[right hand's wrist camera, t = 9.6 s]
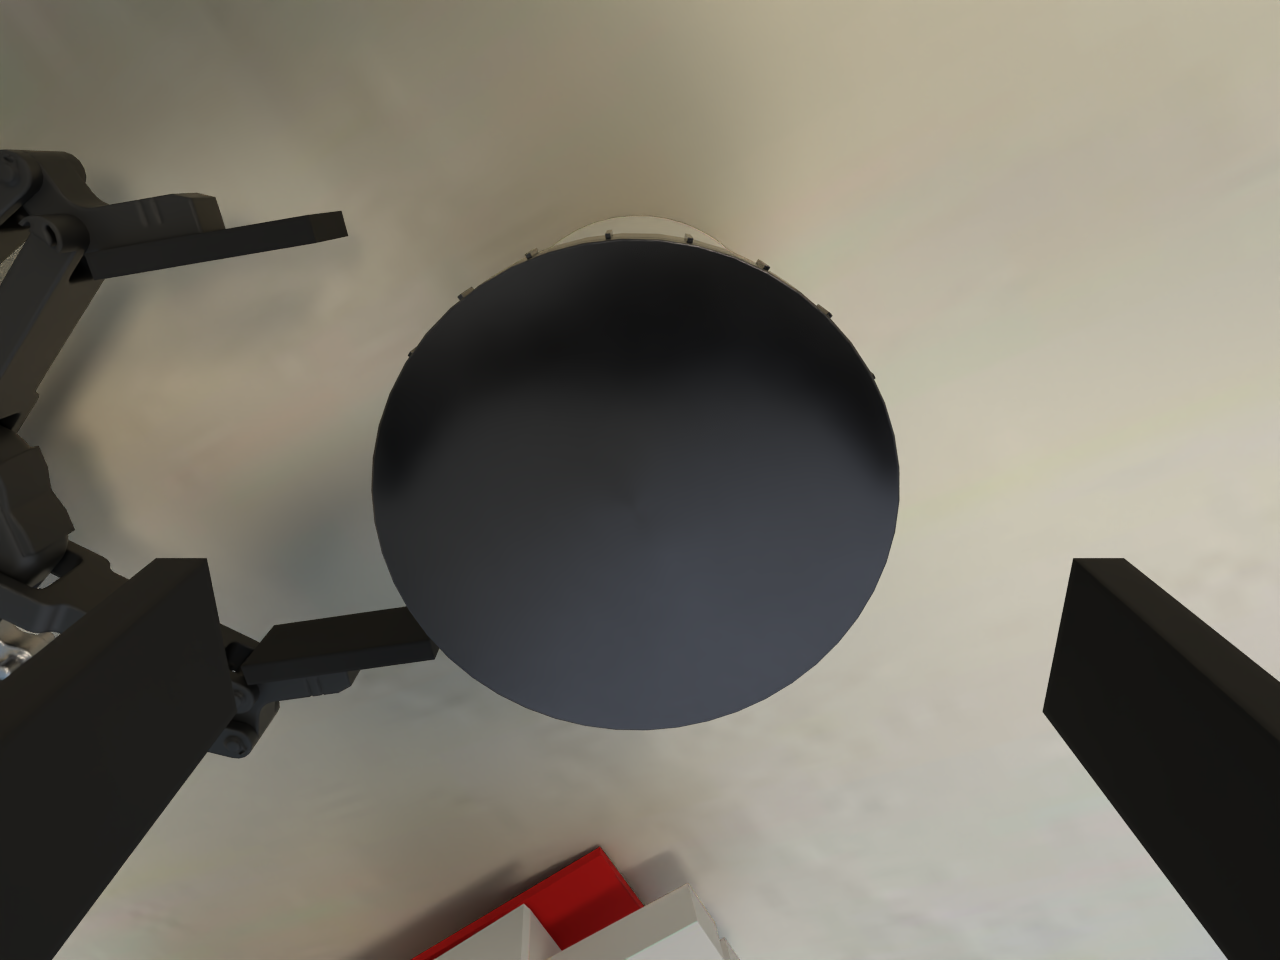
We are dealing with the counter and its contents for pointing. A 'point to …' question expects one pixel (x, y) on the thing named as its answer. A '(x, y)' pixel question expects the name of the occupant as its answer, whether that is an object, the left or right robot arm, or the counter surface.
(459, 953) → the toy
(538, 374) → the lid
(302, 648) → the left robot arm
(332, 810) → the counter surface
